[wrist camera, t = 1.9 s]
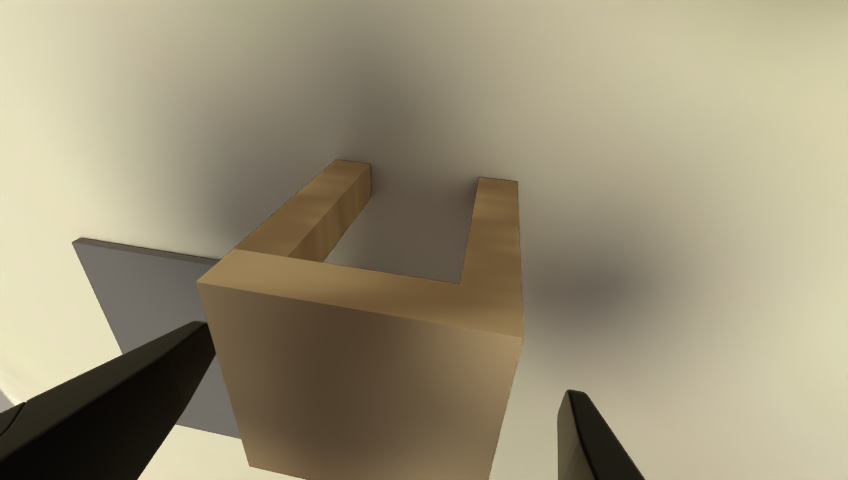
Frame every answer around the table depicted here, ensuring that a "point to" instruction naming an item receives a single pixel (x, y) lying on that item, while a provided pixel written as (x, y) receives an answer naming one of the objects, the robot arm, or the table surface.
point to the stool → (367, 342)
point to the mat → (157, 313)
